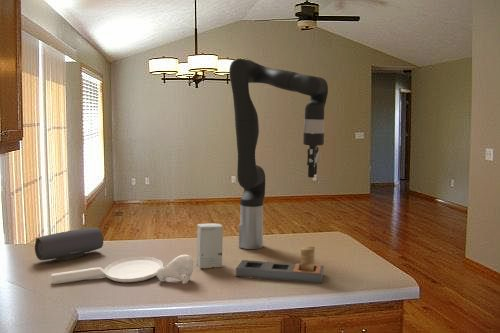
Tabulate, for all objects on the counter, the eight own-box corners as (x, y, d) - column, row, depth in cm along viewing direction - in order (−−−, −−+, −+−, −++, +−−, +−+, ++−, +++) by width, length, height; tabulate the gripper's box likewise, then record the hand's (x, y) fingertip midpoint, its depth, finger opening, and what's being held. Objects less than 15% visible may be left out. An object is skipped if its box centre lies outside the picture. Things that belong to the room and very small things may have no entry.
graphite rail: (236, 276, 155) (236, 267, 155) (242, 268, 164) (242, 259, 164) (321, 283, 149) (321, 273, 149) (323, 274, 158) (323, 264, 158)
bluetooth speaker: (93, 249, 188) (92, 224, 187) (104, 253, 182) (103, 228, 181) (34, 260, 172) (33, 234, 171) (44, 266, 166) (43, 238, 165)
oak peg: (300, 279, 153) (301, 249, 152) (301, 275, 157) (302, 246, 156) (312, 280, 152) (313, 250, 151) (314, 276, 156) (314, 246, 155)
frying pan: (51, 300, 140) (50, 286, 139) (53, 276, 158) (52, 263, 157) (168, 281, 152) (168, 268, 151) (158, 261, 170) (158, 249, 169)
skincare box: (199, 269, 163) (199, 227, 162) (196, 264, 169) (196, 223, 167) (223, 267, 166) (223, 225, 164) (219, 262, 171) (219, 222, 170)
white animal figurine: (191, 257, 147) (152, 261, 147) (194, 283, 148) (156, 287, 148) (193, 251, 153) (156, 255, 153) (195, 277, 154) (159, 280, 154)
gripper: (306, 131, 181) (304, 173, 182) (301, 132, 167) (299, 177, 168) (325, 131, 179) (324, 174, 180) (322, 132, 165) (320, 178, 167)
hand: (312, 175), depth 174 cm, fingers open, 8 cm apart
